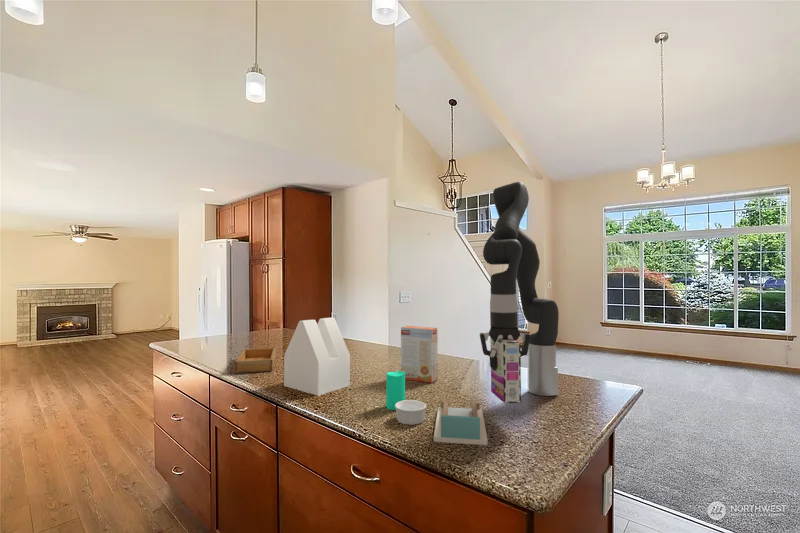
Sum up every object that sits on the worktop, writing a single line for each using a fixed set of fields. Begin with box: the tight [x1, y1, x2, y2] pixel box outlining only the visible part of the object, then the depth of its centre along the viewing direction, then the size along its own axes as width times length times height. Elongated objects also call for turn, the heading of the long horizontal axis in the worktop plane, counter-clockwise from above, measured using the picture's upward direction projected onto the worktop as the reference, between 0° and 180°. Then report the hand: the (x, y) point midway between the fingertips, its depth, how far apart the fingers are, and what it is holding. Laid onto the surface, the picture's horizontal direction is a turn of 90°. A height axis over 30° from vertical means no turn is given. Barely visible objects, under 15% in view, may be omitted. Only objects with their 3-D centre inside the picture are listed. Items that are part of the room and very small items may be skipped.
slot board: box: [433, 399, 488, 446], centre depth 103 cm, size 13×22×6 cm, turn 171°
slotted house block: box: [283, 317, 351, 396], centre depth 142 cm, size 19×15×25 cm
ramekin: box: [395, 399, 427, 426], centre depth 108 cm, size 9×9×4 cm
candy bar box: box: [489, 336, 522, 404], centre depth 106 cm, size 11×5×16 cm, turn 6°
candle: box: [385, 370, 406, 411], centre depth 119 cm, size 6×6×12 cm
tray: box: [234, 347, 276, 374], centre depth 175 cm, size 31×15×6 cm, turn 16°
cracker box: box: [400, 325, 439, 384], centre depth 151 cm, size 14×6×21 cm, turn 59°
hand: (505, 369), depth 106 cm, fingers closed on candy bar box, 5 cm apart
